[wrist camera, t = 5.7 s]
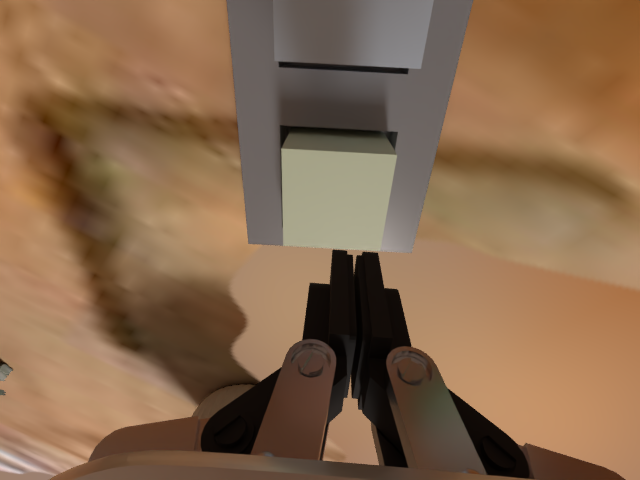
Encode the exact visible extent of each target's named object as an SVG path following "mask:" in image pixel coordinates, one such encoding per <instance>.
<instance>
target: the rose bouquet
mask: <svg viewBox="0 0 640 480" xmlns="http://www.w3.org/2000/svg"><path fill="white" fill-rule="evenodd" d="M11 371H13V370H12V369H11V368H9V367H8V366H7V365H6V364H2V363H0V381H5V380H4V379H5V378H7V376H6V375H9V373H10V372H11ZM4 393H6V392H4V390H0V395H6V394H4Z"/></svg>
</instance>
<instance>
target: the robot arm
mask: <svg viewBox="0 0 640 480" xmlns="http://www.w3.org/2000/svg"><path fill="white" fill-rule="evenodd" d="M350 377H351V388H352V398H356V399H358V409H359V410H362V412H363V414H364V415H365V416H366V417H367V418H368V419H369V420H370V421H371V429H372V434H373V439H374V443H375V448H376V452H377V456H378V461H379V465H367V464H355V463H354V464H353V463H343V462H332V461H323V458H324V452H325V446H326V441H327V435H328V429H329V423H330V421H331V420H333V419H334V418H335V417H336V416H337V415H338V414H339V413H340V412H341V411H342V406H343V399H344V398H347V395H348V389H349V382H350ZM50 480H625V479H624V478H622V477H621V476H620V475H619V474H617V473H615V472H614V471H611V470H609V469H607V468H605V467H602V466H598V465H595V464H592V463H589V462H585V461H582V460H579V459H576V458H573V457H569V456H566V455H563V454H560V453H556V452H553V451H550V450H547V449H544V448H540V447H537V446H533V445H531V444H527V443H526V444H525V445H524V446H521V445H518V444H517V443H515V441H513V440H512V439H511V438H510V437H509V436H508V435H507V434H506V433H504V432H503V431H502V430H501V429H499V428H498V427H497V426H495V425H494V424H493V423H492V422H490V421H489V420H488V419H486V418H485V417H484V416H483V415H481V414H480V413H479V412H477V411H476V410H475V409H474V408H472V407H471V406H470V405H468V404H467V403H466V402H465V401H463V400H462V399H461V398H460V397H458V396H457V395H455V394H454V393H453V392H452V391H450V390H449V389H448V388H447V387H446V385H445V383H444V381H443V379H442V376H441V374H440V372H439V370H438V368H437V366H436V364H435V363H434V361H433V360H432V359H431V358H430V357H429V356H428V355H427V354H426V353H424V352H423V351H421V350H419V349H416V348H413V347H411V342H410V338H409V334H408V329H407V325H406V321H405V317H404V312H403V308H402V304H401V299H400V295H399V292H398V290H397V289H388V288H384V285H383V279H382V273H381V267H380V262H379V256H378V253H373V252H363V253H362V256H360V255H357V257H356V264H355V272H353V255H347V251H344V250H333V251H332V263H331V276H330V284H319V283H310V286H309V293H308V301H307V308H306V316H305V324H304V331H303V339H302V341H299V342H297V343H295V344H294V345H293V346H292V347H291V348H290V349H289V351H288V352H287V354H286V357H285V360H284V362H283V365H282V367H281V368H280V369H278V370H277V371H275V372H274V373H273V374H271V375H270V376H268V377H267V378H265V379H264V380H262V381H261V382H259V383H258V384H256V385H255V386H254V387H252V388H251V389H249V390H248V391H246V392H245V393H243V394H242V395H240V396H239V397H238V398H236V399H235V400H233V401H232V402H230V403H229V404H227V405H226V406H224V407H223V408H222V409H220V410H219V411H217V412H216V413H215V414H214V415H213V416H212V417H211V418H204V419H199V416H194V417H188V418H181V419H175V420H168V421H162V422H155V423H149V424H142V425H136V426H129V427H125V428H121V429H118V430H115V431H114V432H112V433H111V434H109V435H108V436H106V437H105V438H104V439H103V440H102V441H101V442H100V443H99V444H98V445H97V446H96V447H95V449H94V451H93V453H92V454H91V456H90V458H89V461H88V462H87V463H84V464H82V465H79V466H76V467H73V468H71V469H69V470H67V471H65V472H63V473H60V474H58V475H56V476H54V477H53V478H51V479H50Z"/></svg>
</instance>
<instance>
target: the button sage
mask: <svg viewBox="0 0 640 480" xmlns="http://www.w3.org/2000/svg"><path fill="white" fill-rule="evenodd" d="M281 155H282V206H283V246H299V247H316V248H334V249H352V250H369V251H380V249H381V243H382V238H383V232H384V226H385V221H386V215H387V210H388V204H389V198H390V193H391V187H392V182H393V176H394V170H395V165H396V159H397V154H396V152H395V150H394V149H393V147H392V145H391V144H390V142H389V140H388V138H387V137H386V135H385V133H384V132H374V131H355V130H337V129H319V128H301V127H292V128H291V130H290V132H289V134H288V136H287V138H286V140H285V142H284V144H283V146H282V148H281Z"/></svg>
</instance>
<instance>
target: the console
mask: <svg viewBox="0 0 640 480" xmlns="http://www.w3.org/2000/svg"><path fill="white" fill-rule="evenodd" d="M472 3H473V0H434V2H433V7H432V13H431V18H430V23H429V28H428V34H427V39H426V44H425V49H424V55H423V60H422V65H421V69H413V68H394V67H376V66H357V65H339V64H321V63H302V62H284V61H275V60H274V23H273V0H227V10H228V21H229V32H230V43H231V55H232V66H233V77H234V88H235V99H236V110H237V122H238V133H239V144H240V155H241V166H242V178H243V189H244V200H245V211H246V222H247V233H248V244H262V245H280V246H283V206H282V155H281V148H282V146H283V144H284V142H285V140H286V138H287V136H288V134H289V132H290V130H291V128H292V127H301V128H319V129H337V130H355V131H374V132H384V133H385V135H386V137H387V138H388V140H389V142H390V144H391V145H392V147H393V149H394V150H395V152H396V154H397V159H396V165H395V170H394V176H393V182H392V187H391V193H390V198H389V204H388V210H387V215H386V221H385V226H384V232H383V238H382V243H381V249H380V251H386V252H404V253H412V249H413V245H414V241H415V237H416V233H417V229H418V225H419V221H420V216H421V212H422V208H423V204H424V200H425V196H426V192H427V188H428V184H429V179H430V175H431V171H432V167H433V163H434V159H435V155H436V151H437V147H438V142H439V138H440V134H441V130H442V126H443V122H444V118H445V114H446V110H447V105H448V101H449V97H450V93H451V89H452V85H453V81H454V77H455V73H456V68H457V64H458V60H459V56H460V52H461V48H462V44H463V40H464V35H465V31H466V27H467V23H468V19H469V15H470V11H471V7H472ZM298 247H299V246H298ZM315 248H316V247H315ZM333 249H334V248H333ZM351 250H352V249H351ZM368 251H369V250H368Z"/></svg>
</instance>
